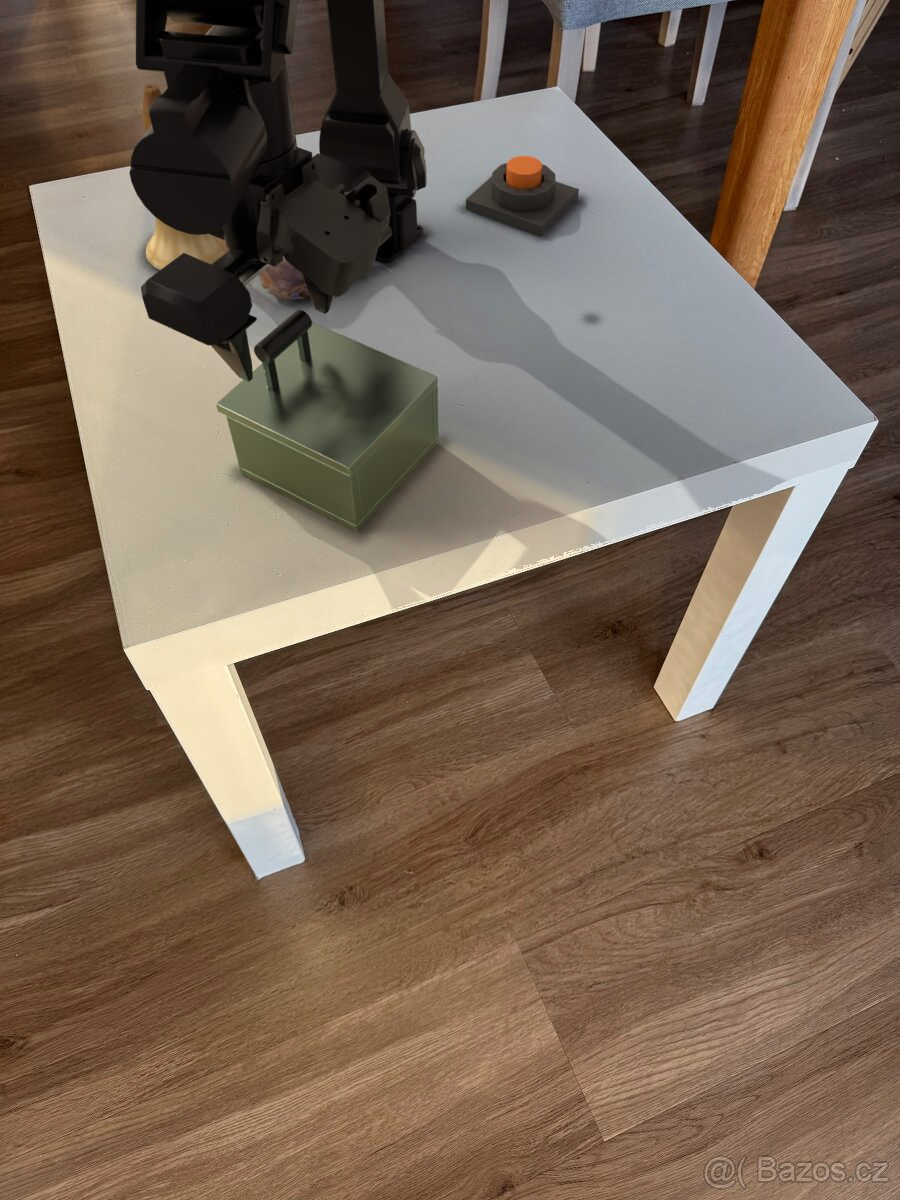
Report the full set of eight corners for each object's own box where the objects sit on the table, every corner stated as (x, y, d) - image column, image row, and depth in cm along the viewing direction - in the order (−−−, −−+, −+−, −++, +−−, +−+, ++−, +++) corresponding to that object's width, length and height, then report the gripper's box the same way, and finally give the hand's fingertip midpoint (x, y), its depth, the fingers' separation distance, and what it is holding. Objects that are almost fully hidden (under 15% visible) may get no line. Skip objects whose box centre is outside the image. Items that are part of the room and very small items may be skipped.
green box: (240, 474, 77) (225, 416, 72) (327, 391, 82) (318, 332, 77) (357, 533, 73) (349, 476, 68) (438, 443, 79) (438, 384, 74)
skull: (367, 240, 95) (361, 188, 89) (386, 294, 91) (381, 243, 86) (249, 264, 93) (235, 213, 88) (263, 320, 90) (250, 270, 85)
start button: (499, 184, 97) (500, 167, 96) (517, 168, 99) (518, 151, 97) (530, 194, 96) (531, 178, 94) (547, 178, 98) (548, 161, 96)
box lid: (217, 411, 72) (203, 359, 68) (311, 329, 78) (303, 276, 74) (349, 476, 68) (343, 424, 64) (438, 384, 74) (437, 331, 70)
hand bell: (222, 220, 98) (187, 57, 85) (237, 266, 93) (203, 101, 80) (141, 235, 96) (93, 71, 83) (152, 282, 92) (103, 117, 79)
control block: (465, 209, 99) (465, 182, 96) (504, 174, 103) (505, 147, 100) (540, 236, 96) (543, 209, 94) (577, 199, 100) (581, 172, 98)
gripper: (254, 259, 51) (292, 461, 64) (441, 111, 61) (442, 314, 73) (104, 197, 55) (169, 400, 68) (303, 66, 64) (327, 267, 77)
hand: (285, 343), depth 71 cm, fingers open, 9 cm apart
